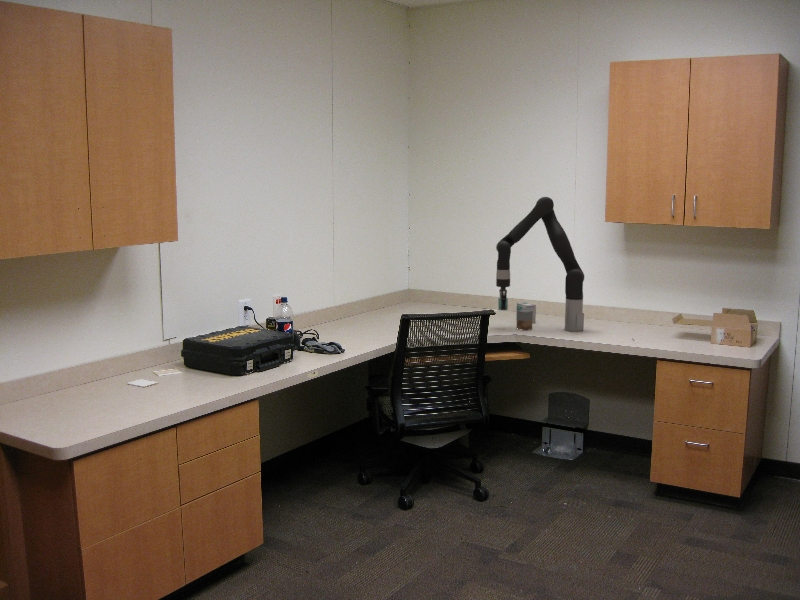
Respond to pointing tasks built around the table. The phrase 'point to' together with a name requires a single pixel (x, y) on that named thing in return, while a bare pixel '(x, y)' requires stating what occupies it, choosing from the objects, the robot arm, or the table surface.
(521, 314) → the grey top block
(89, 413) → the table surface
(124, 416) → the table surface
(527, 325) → the walnut base block
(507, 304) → the teal cylinder
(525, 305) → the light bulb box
